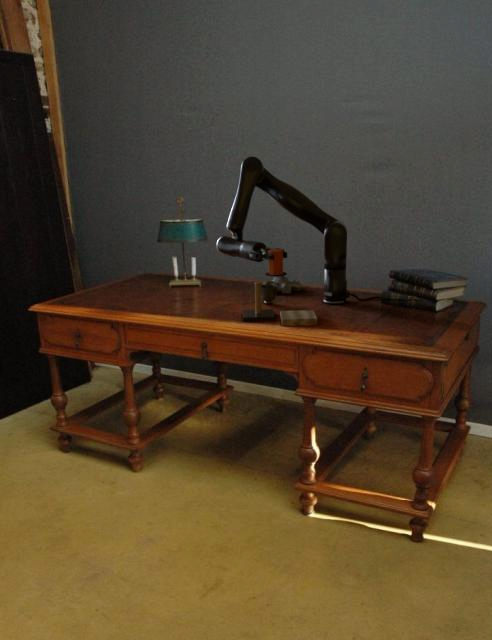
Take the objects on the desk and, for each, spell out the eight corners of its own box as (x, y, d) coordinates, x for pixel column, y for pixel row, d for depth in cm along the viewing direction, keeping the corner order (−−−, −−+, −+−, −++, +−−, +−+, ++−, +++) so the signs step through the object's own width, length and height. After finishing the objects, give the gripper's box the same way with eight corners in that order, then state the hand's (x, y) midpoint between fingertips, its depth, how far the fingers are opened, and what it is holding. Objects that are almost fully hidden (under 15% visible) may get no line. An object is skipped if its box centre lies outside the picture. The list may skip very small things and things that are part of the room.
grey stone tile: (313, 316, 258) (313, 310, 257) (317, 325, 246) (317, 318, 245) (280, 317, 258) (280, 311, 257) (282, 326, 245) (282, 319, 245)
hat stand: (272, 312, 264) (272, 279, 259) (274, 320, 253) (274, 285, 248) (243, 313, 264) (241, 280, 259) (243, 321, 253) (242, 286, 248)
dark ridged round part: (275, 306, 274) (275, 287, 271) (258, 305, 276) (257, 286, 273) (278, 302, 281) (278, 283, 278) (261, 301, 282) (261, 283, 279)
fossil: (279, 277, 312) (297, 263, 300) (291, 297, 313) (309, 285, 300) (253, 289, 302) (270, 276, 290) (265, 310, 303) (282, 298, 290)
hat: (285, 272, 253) (285, 248, 250) (287, 276, 246) (286, 251, 242) (265, 272, 253) (264, 248, 249) (265, 276, 245) (265, 252, 242)
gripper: (237, 243, 252) (264, 248, 239) (267, 239, 260) (294, 243, 247) (238, 263, 255) (264, 268, 242) (267, 258, 263) (294, 263, 250)
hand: (279, 256), depth 245 cm, fingers closed on hat, 5 cm apart
